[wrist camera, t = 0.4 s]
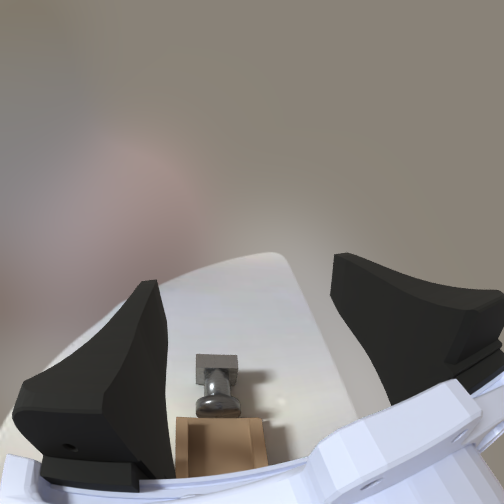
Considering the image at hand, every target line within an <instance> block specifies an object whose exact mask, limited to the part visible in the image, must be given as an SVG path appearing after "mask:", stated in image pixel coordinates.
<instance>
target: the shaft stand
mask: <svg viewBox="0 0 504 504" xmlns="http://www.w3.org/2000/svg"><path fill="white" fill-rule="evenodd" d="M237 372H238V360H237V355H209V354H196V384H204V397H202V398H200V399H198V400H197V402H196V415H197V417H198V418H189V417H176V479H179V478H193V477H203V476H212V475H220V474H227V473H233V472H240V471H245V470H251V469H256V468H261V467H266V466H268V460H267V453H266V446H265V439H264V433H263V426H262V419H259V418H238V417H239V416H240V415H241V408H240V402H239V400H238V399H236V398H235V397H232V396H230V385H235V383H236V378H237Z"/></svg>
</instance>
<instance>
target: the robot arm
mask: <svg viewBox="0 0 504 504" xmlns="http://www.w3.org/2000/svg"><path fill="white" fill-rule="evenodd" d="M330 296H331V298H332V300H333V302H334V305H335V307H336V308H337V310H338V312H339V314H340V315H341V317H342V318H343V320H344V321H345V323H346V324H347V326H348V327H349V328H350V330H351V331H352V333H353V334H354V335H355V337H356V338H357V340H358V341H359V342H360V344H361V345H362V347H363V348H364V350H365V351H366V353H367V355H368V356H369V358H370V360H371V362H372V364H373V366H374V367H375V369H376V371H377V373H378V375H379V377H380V380H381V382H382V384H383V386H384V389H385V391H386V393H387V396H388V398H389V401H390V403H391V407H388V408H386V409H384V410H381V411H378V412H376V413H374V414H371V415H368V416H366V417H363V418H360V419H358V420H356V421H354V422H352V423H350V424H347V425H345V426H343V427H341V428H339V429H337V430H336V431H334V432H333V433H331V434H330V435H328V436H327V437H325V438H324V439H322V440H321V441H320V442H319V443H318V444H317V445H316V447H315V448H314V449H313V451H312V452H311V453H310V455H309V456H307V457H303V458H299V459H296V460H292V461H288V462H284V463H280V464H275V465H271V466H266V467H261V468H256V469H251V470H245V471H240V472H233V473H227V474H220V475H212V476H203V477H193V478H179V479H176V474H175V469H174V464H173V458H172V452H171V445H170V438H169V430H168V422H167V411H166V399H165V385H166V368H167V352H168V331H167V320H166V316H165V312H164V308H163V304H162V300H161V296H160V291H159V287H158V283H157V280H149V281H142V282H141V283H140V284H139V285H138V286H137V288H136V289H135V290H134V292H133V293H132V295H131V296H130V297H129V298H128V299H127V301H126V302H125V303H124V304H123V306H122V307H121V308H120V309H119V310H118V312H117V313H116V314H115V315H114V316H113V317H112V318H111V319H110V321H109V322H108V323H107V324H106V325H105V326H104V327H103V328H102V329H101V330H100V331H99V332H98V333H97V334H96V335H95V336H94V337H92V338H91V339H90V340H89V341H88V342H87V343H85V344H84V345H83V346H82V347H80V348H79V349H78V350H76V351H75V352H74V353H73V354H71V355H70V356H68V357H67V358H65V359H64V360H62V361H61V362H59V363H58V364H56V365H54V366H53V367H51V368H49V369H47V370H46V371H44V372H42V373H40V374H38V375H36V376H34V377H32V378H30V379H28V380H25V381H24V382H23V384H22V387H21V389H20V392H19V395H18V398H17V400H16V403H15V406H14V409H13V412H12V419H13V421H14V423H15V425H16V427H17V429H18V430H19V431H20V432H21V434H22V435H23V436H24V437H25V438H26V439H27V440H28V441H29V442H30V443H31V444H32V445H33V446H34V447H35V448H36V449H38V450H39V451H40V452H41V453H42V454H43V460H42V463H40V462H38V461H36V460H34V459H30V458H25V457H21V456H16V455H12V454H7V455H6V460H5V464H4V469H3V474H2V479H1V485H0V504H504V489H503V488H502V486H501V485H500V483H499V481H498V480H497V478H496V477H495V475H494V474H493V473H492V471H491V469H490V468H489V466H488V465H487V464H486V462H485V461H484V459H483V458H482V456H481V455H480V453H482V452H483V451H484V450H485V449H486V448H487V447H488V446H489V445H491V444H492V443H493V442H494V441H495V440H496V439H498V438H499V437H500V436H501V435H502V434H503V433H504V353H503V352H502V351H501V350H500V348H501V347H502V343H501V342H500V341H499V340H498V337H499V335H500V333H501V331H502V329H503V327H504V294H503V293H502V292H501V291H499V290H476V289H466V288H457V287H451V286H445V285H440V284H436V283H431V282H428V281H424V280H420V279H417V278H414V277H411V276H408V275H405V274H402V273H399V272H397V271H394V270H391V269H389V268H386V267H384V266H381V265H379V264H377V263H374V262H372V261H369V260H367V259H365V258H362V257H359V256H357V255H354V254H350V253H341V254H334V263H333V273H332V282H331V292H330Z"/></svg>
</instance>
